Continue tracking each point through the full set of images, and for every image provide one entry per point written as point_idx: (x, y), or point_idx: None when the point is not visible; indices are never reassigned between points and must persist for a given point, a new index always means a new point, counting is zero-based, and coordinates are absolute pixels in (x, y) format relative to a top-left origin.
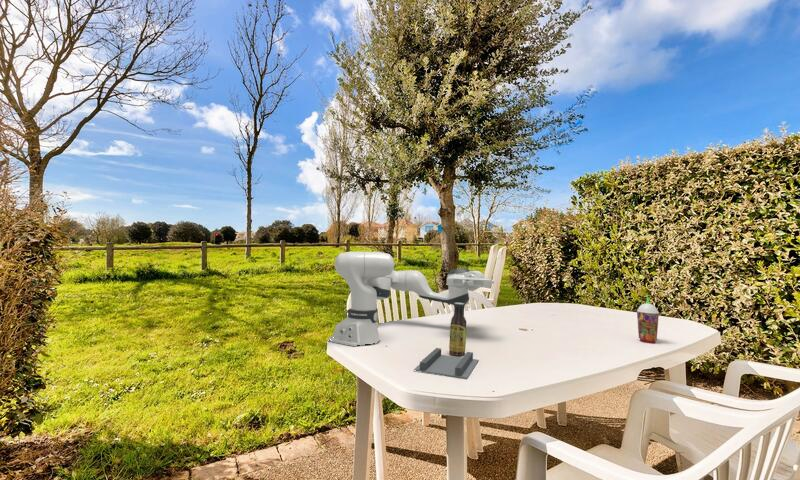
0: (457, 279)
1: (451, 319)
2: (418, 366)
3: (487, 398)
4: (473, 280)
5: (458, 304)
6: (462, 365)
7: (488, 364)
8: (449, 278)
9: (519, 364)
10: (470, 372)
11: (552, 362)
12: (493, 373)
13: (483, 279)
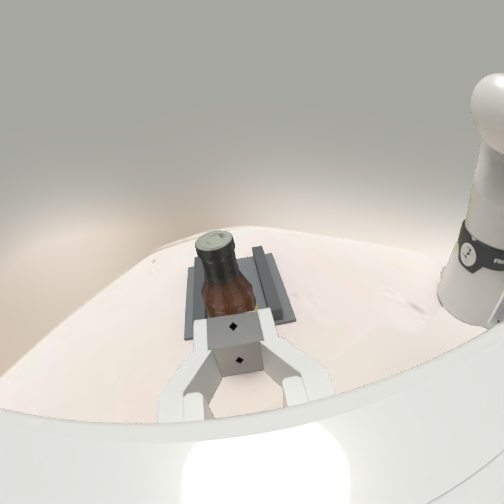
0: (409, 373)
1: (251, 284)
2: (273, 262)
3: (160, 247)
4: (159, 423)
5: (212, 231)
6: (195, 265)
7: (163, 333)
8: (490, 329)
9: (106, 358)
10: (187, 282)
11: (48, 393)
12: (153, 302)
13: (33, 416)
